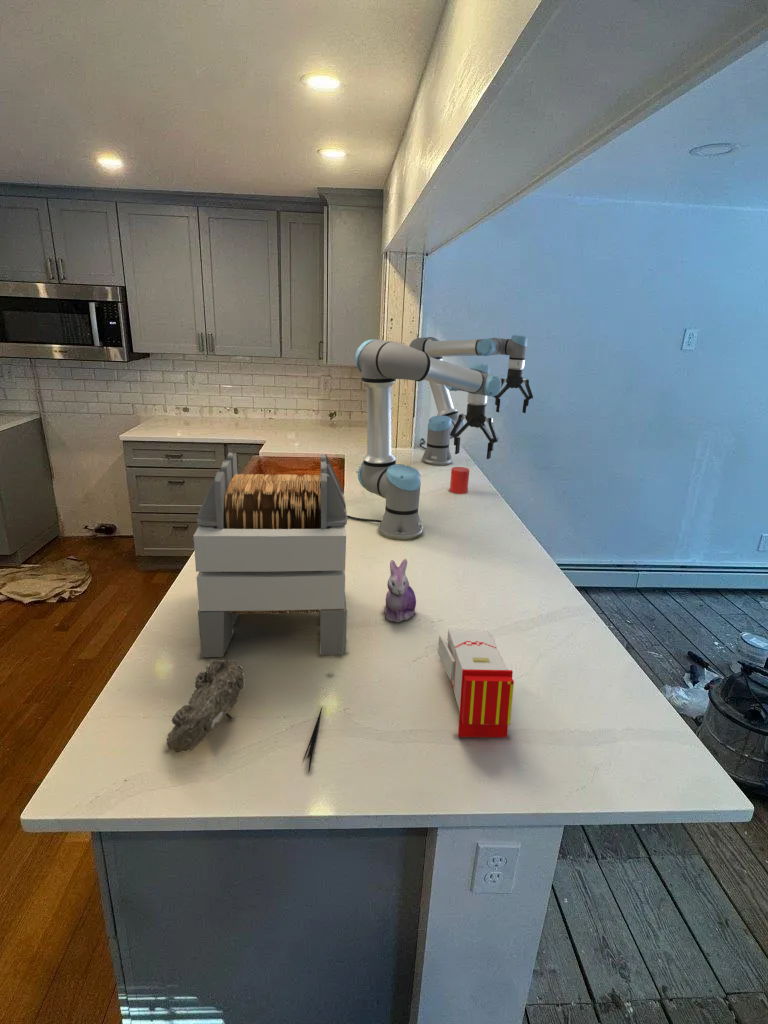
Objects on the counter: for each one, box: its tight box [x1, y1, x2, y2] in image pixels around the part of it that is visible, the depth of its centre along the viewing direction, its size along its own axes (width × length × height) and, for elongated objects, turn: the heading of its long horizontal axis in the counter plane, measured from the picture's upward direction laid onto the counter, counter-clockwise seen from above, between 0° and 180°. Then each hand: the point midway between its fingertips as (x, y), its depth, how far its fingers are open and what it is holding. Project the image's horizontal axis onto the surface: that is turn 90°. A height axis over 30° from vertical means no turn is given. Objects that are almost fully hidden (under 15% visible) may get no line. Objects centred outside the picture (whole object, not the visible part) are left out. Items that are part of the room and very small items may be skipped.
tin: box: [449, 466, 470, 495], centre depth 249 cm, size 8×8×10 cm
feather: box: [301, 673, 332, 771], centre depth 108 cm, size 2×28×2 cm
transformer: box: [193, 452, 348, 659], centre depth 136 cm, size 34×33×41 cm
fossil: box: [166, 658, 245, 754], centre depth 106 cm, size 22×10×15 cm
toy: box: [437, 628, 515, 738], centre depth 117 cm, size 12×13×30 cm
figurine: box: [384, 558, 417, 623], centre depth 145 cm, size 9×10×15 cm
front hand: (472, 455), depth 231 cm, fingers open, 13 cm apart
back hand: (510, 412), depth 282 cm, fingers open, 13 cm apart
